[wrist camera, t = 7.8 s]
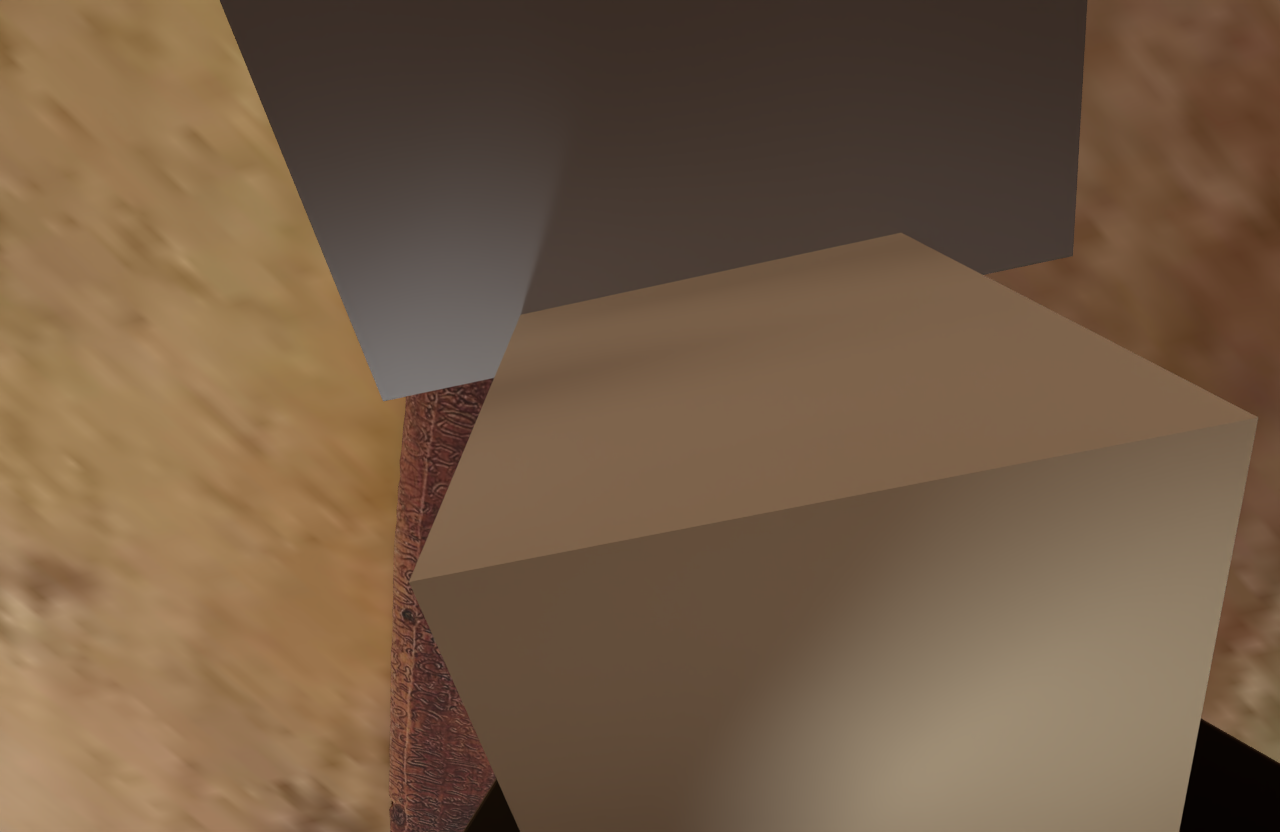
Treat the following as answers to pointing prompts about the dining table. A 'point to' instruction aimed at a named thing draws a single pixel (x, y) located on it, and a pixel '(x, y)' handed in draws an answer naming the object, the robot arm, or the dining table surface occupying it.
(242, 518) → the dining table surface
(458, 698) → the wooden tablet
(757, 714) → the two-tone stacked block
